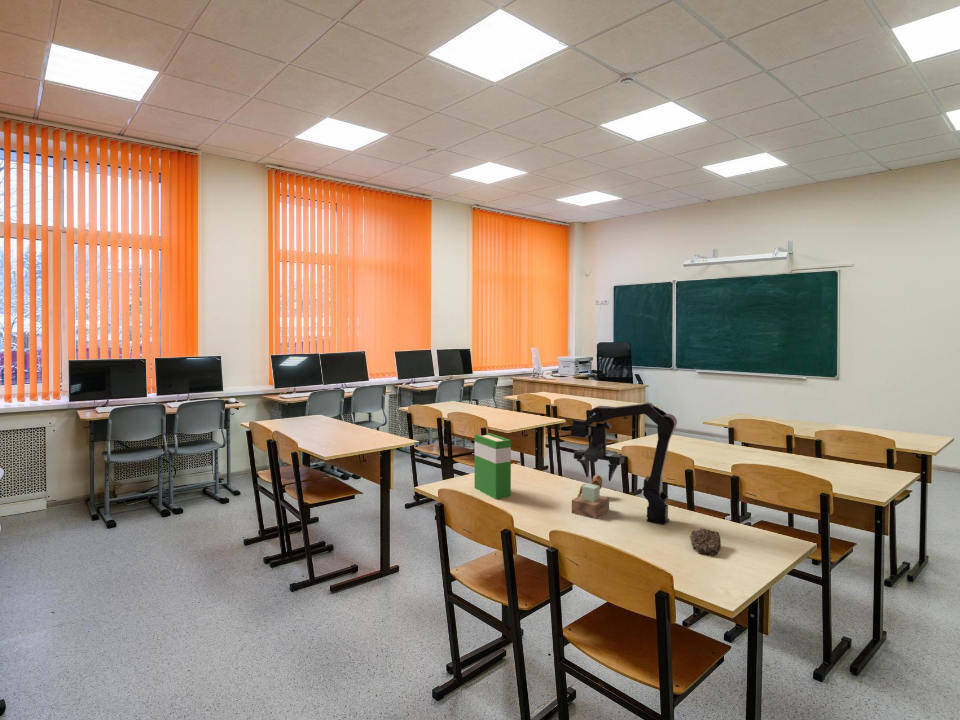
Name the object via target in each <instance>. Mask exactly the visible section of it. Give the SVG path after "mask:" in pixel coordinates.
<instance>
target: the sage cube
mask: <svg viewBox="0 0 960 720" xmlns="http://www.w3.org/2000/svg"><path fill="white" fill-rule="evenodd" d="M585 484H586V485H584V486H582V494H581V495H582V499H583V500H588V501H593V502H594V501H596V500H598V499H599V498H600V496H601V495H600V493H601V492H600V490H601V489H600V486H599V485H594V484H591V483H589V482H588V483H585Z"/></svg>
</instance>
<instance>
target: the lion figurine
mask: <svg viewBox="0 0 960 720" xmlns="http://www.w3.org/2000/svg"><path fill="white" fill-rule="evenodd" d="M586 484H587V483H583V484H581V485H580V486H579V491H578V493H577V497H578V496H580V495H582V486H584V485H586ZM590 484H594V485H599V486H600V490H601V489H602V487H603V478H602V477H601V475H599V474H595V475H593V477H592V481H591V482H590Z"/></svg>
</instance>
